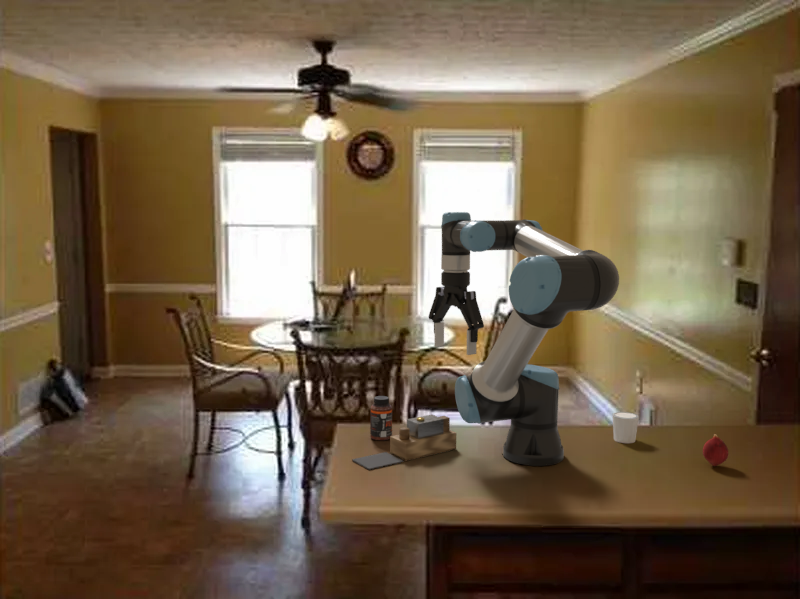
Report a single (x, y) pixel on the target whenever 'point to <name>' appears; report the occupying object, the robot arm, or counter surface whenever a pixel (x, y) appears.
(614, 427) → the white cup
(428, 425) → the lever cap
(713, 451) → the onion
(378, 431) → the supplement bottle
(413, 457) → the body
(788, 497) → the counter surface
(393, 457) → the mat
